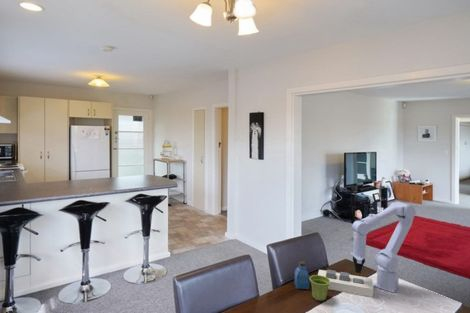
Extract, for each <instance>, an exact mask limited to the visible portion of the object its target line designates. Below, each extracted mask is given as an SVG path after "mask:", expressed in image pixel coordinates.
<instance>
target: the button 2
mask: <svg viewBox="0 0 470 313" xmlns="http://www.w3.org/2000/svg"><path fill="white" fill-rule="evenodd" d="M353 282H354V283H359V284H363V279H357V278H354V279H353Z"/></svg>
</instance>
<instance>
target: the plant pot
mask: <svg viewBox="0 0 470 313" xmlns="http://www.w3.org/2000/svg"><path fill="white" fill-rule="evenodd" d="M309 277H310V278H309V282H310V284H311V293H312V294H311V295H312V298H313V299H315V301H320V302H321V301H325V300H327V295H328V291H329V289H328V286H329V284H330V279H328V278H327V277H325V276H321V275H318V274H316V275H315V274H313V275H311V276H309Z"/></svg>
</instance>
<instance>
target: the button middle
mask: <svg viewBox="0 0 470 313" xmlns="http://www.w3.org/2000/svg"><path fill="white" fill-rule="evenodd" d="M339 273H340V280H342V281H348V282H349V275H350V272H346V271H340V272H339Z"/></svg>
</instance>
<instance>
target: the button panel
mask: <svg viewBox="0 0 470 313" xmlns="http://www.w3.org/2000/svg"><path fill="white" fill-rule="evenodd" d="M326 273H327V270H324V269H318V273H317V275H321V276H325V277H326ZM354 278H357V279H363V284H359V283H354V282H353V279H354ZM328 279H330V284H329V286H328V290H333V291H337V292H343V293H347V294H353V295H359V296H364V297H369V298H374V284H373V278H372V277H365V276H359V275H355V274H354V275H353V274H349V282H348V281H342V280H340V272H336V279H331V278H328Z"/></svg>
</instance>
